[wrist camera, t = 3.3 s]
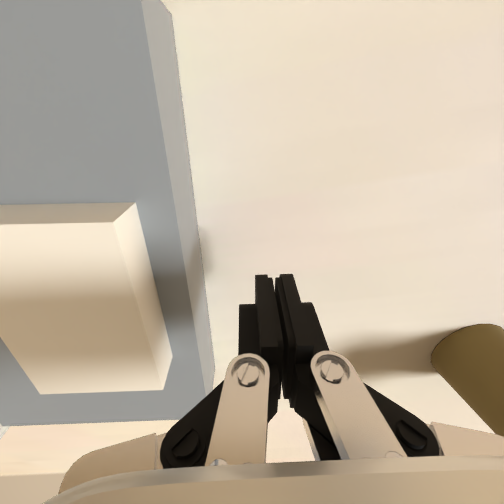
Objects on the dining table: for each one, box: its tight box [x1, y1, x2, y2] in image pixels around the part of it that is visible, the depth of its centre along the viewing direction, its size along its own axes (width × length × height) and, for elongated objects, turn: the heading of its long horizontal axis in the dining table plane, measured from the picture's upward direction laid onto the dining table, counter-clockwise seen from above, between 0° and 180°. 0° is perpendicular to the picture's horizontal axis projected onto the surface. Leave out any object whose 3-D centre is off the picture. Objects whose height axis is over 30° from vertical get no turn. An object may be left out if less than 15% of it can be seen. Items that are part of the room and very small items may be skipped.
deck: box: [0, 0, 215, 426], centre depth 14 cm, size 22×14×4 cm, turn 1°
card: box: [0, 202, 172, 394], centre depth 11 cm, size 9×6×2 cm, turn 1°
